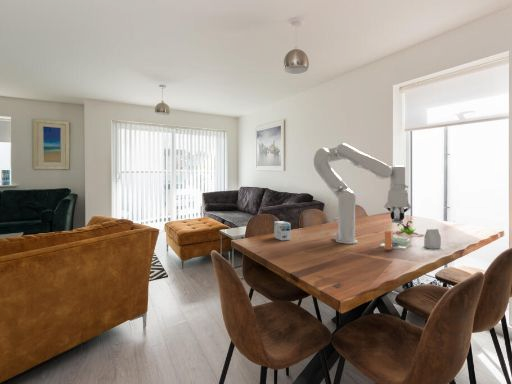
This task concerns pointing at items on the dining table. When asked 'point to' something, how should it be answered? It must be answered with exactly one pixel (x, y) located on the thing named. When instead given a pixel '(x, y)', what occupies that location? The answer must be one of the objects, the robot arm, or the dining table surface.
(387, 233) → the pin
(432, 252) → the dining table surface
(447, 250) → the dining table surface
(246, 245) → the dining table surface
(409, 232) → the plant
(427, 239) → the grey white box
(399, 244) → the dock
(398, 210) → the grey rounded piece
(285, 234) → the light bulb box
